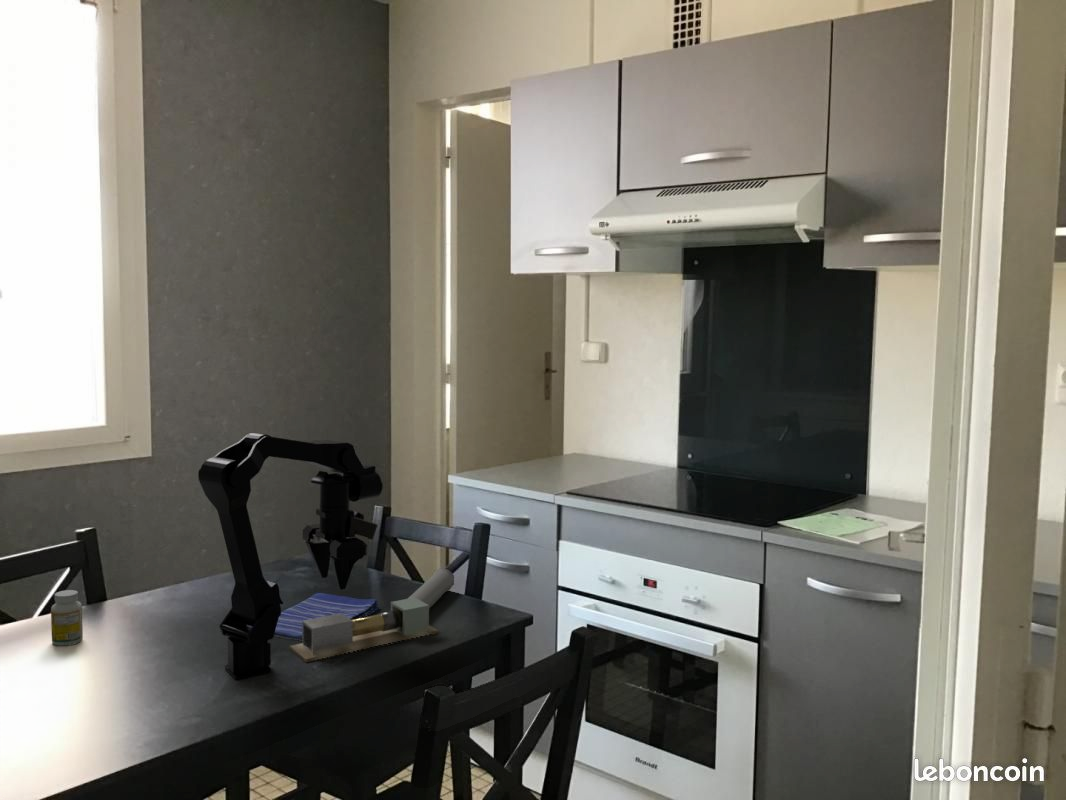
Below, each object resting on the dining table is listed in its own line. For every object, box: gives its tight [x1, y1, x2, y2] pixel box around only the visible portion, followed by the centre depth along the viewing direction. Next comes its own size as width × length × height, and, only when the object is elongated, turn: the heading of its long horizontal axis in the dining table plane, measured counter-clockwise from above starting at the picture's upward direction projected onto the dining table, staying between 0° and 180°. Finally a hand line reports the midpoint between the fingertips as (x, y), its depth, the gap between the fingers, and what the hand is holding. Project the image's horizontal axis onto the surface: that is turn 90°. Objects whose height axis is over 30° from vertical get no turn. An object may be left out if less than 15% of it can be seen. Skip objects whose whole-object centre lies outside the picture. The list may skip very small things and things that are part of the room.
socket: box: [390, 597, 430, 636], centre depth 182 cm, size 6×6×5 cm
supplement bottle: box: [50, 589, 84, 647], centre depth 173 cm, size 5×5×10 cm
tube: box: [407, 568, 455, 610], centre depth 199 cm, size 5×5×25 cm
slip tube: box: [352, 610, 403, 637], centre depth 177 cm, size 16×4×4 cm, turn 126°
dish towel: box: [249, 592, 380, 642], centre depth 188 cm, size 17×24×3 cm
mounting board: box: [289, 625, 439, 663], centre depth 177 cm, size 28×8×1 cm, turn 126°
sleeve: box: [301, 613, 353, 655], centre depth 172 cm, size 8×5×5 cm, turn 126°
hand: (333, 583), depth 176 cm, fingers open, 9 cm apart
